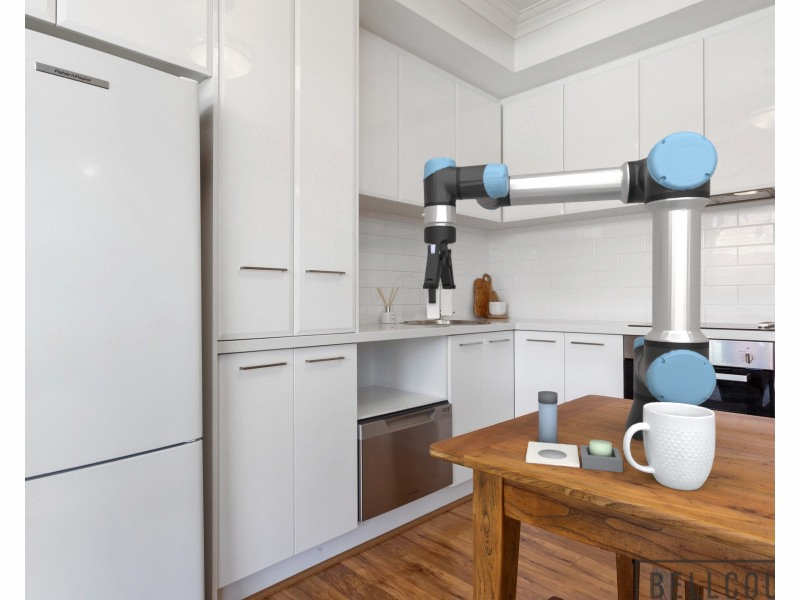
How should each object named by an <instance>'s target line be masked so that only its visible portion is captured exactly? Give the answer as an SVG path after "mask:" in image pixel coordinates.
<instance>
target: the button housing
mask: <svg viewBox="0 0 800 600" xmlns="http://www.w3.org/2000/svg"><path fill="white" fill-rule="evenodd" d="M580 461H581V469H583V470H584V469H585V470H591V471H593V470H594V471H601V472H602V471H603V472H613V473H614V472H615V473H621V474H622V473H623V469H624V467H623V465H624V462H623V461H624V460H623V457H622V455H621V452H620V449H619V447H612V457H605V456H594V455H590V445H587V444H586V445H584V444H581V445H580Z"/></svg>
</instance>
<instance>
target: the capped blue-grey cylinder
mask: <svg viewBox="0 0 800 600" xmlns="http://www.w3.org/2000/svg"><path fill="white" fill-rule="evenodd" d="M558 394H559V393H558V392H556V391H550V390H542V391H538V392H537V401H538V442H542V443H554V444H558V401H559V400H558V398H559V397H558Z"/></svg>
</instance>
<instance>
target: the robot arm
mask: <svg viewBox="0 0 800 600" xmlns="http://www.w3.org/2000/svg"><path fill="white" fill-rule="evenodd" d="M718 159H719V158H718V152H717V149H716V146H715V145H714V143H713V142H712V141H711V140H710V139H708V138H707V137H706V136H704V135H703V134H701V133H698V132H695V131H678V132H673V133H671V134H668V135H666V136H665V137H663V138H662V139H660V140H659V141H658V142H656V143H655V144H654V145H653V147H652V148H651V149H650V150H649V153H648V154H647V156H646V157H644V158H642V159H638V160H630V161H624V162H623V163H622V164H621V165H620V166H612V167H598V168H587V169H586V168H585V169H574V170H562V171H550V172H539V173H537V172H536V173H526V174H514V175H509V167H508V166H507V164H505V163H493V162H489V163H486V164H478V165H477V164H476V165H468V166H457V165H456V164H457V163H456V161H455V160H454V159H453V158H450V157H440V156H439V157H434V158H429V159H428V160H427V161H426V162H425V164H424V168H423V179H422V182H423V213H422V214H421V217H422V218H423V224H424V225H425V226H426V227H424V229H423V242H424V243H425V244H427V255H426V264H425V265H426V266H425V271H424V281H423V284H422V288H423V290H426V319H428V320H429V319H434V320H436V319H437V320H439V319H441V316H442V317H443V316H444V317H445V316H447V317H448V316H453V312H454V311H453V308H454V306H453V305H454V303H453V300H454V298H453V295H454V294H453V290H456V288H457V286H456V284H455V279H454V271H453V260H452V259H453V258H452V252H453V251H452V249H451V248H448V245H450V244H451V245H453V244H455V243H456V241H457V228H456V227H455V225H457V201H466V200H475V201H476V202H477V204H478V205H479V206H480V207H482V208H483V209H485V210H488V211H494V210H498V209H500V208H503V207H504V208H506V207H515V206H517V207H518V206H533V205H548V204H549V205H551V204H552V205H553V204H566V203H584V202H599V201H600V202H602V201H603V202H604V201H621V202H622V203H623V204H624V205H627V204H644V205H643V206H644V208H645V209H646V210H647V211H648V212H650V213H651V215H652V237H651V238H652V243H651V244H652V246H651V247H652V248H651V249H652V255H651V256H652V257H651V260H652V261H651V266H652V267H651V268H652V271H651V273H652V274H651V276H652V277H651V278H652V284H651V289H652V290H651V291H652V293H651V299H652V300H651V304H652V306H651V309H652V310H651V311H652V312H651V315H652V316H651V330H650V331H648V333H647V334H646V335H644V336H638V337H636V338H635V339H634V341H633V348H632V353H633V401H632V404H631V406H630V410H629V412H628V415H627V417H626V421H625V425H624V426H625V429H624V430H625V433H626V432H627V430H628V429H629V428H630V427H631V426H632V425H634V424H637V423H643V406H644V405H645V404H648V403H656V402H670V403H682V404H690V405H695V406H699V405H702V404H703V403H704V402H706V401H707V400H708V399H709V398H710V397H711V396H712V394H713V393H714V391H715V389H716V385H717V374H716V371H715V369H714V366H713V363H711V362H710V339H709V338H708V337H707V335H705V334H704V333H703V332H702V331H701V302H702V301H701V290H702V289H701V288H702V287H701V283H702V280H701V279H702V278H701V276H702V274H701V273H702V272H701V270H702V260H701V259H702V211H703V209H704V208H705V207H706V206H707V205H708V204H709V203H710V202H711V178H712V177H713V175H714V174H715V171H716V169H717V165H718V161H719V160H718ZM440 282H441V288H442V289H441V290H440V288H439V285H440ZM440 297H441V298H440ZM440 306H441V307H440ZM440 309H441V310H440ZM440 311H441V312H440ZM440 313H441V314H440ZM632 438H633V439H635V440H638V441H641V442H643V440H644V439H643V430H639V431H637V432H635V433H634V434H633V436H632ZM632 438H631V439H632Z"/></svg>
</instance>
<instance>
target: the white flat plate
mask: <svg viewBox="0 0 800 600" xmlns="http://www.w3.org/2000/svg"><path fill="white" fill-rule="evenodd" d="M526 450H527V451H526V456H525V463H529V464H539V465H550V466H561V467H570V468H571V467H572V468H580V466H581V465H580V459H579V452H578V451H579V450H578V445H577V444H576V445H575V444H565V443H557V444H554V443H542V442H539V441H530V440H529V441H528V445H527V449H526Z"/></svg>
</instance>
